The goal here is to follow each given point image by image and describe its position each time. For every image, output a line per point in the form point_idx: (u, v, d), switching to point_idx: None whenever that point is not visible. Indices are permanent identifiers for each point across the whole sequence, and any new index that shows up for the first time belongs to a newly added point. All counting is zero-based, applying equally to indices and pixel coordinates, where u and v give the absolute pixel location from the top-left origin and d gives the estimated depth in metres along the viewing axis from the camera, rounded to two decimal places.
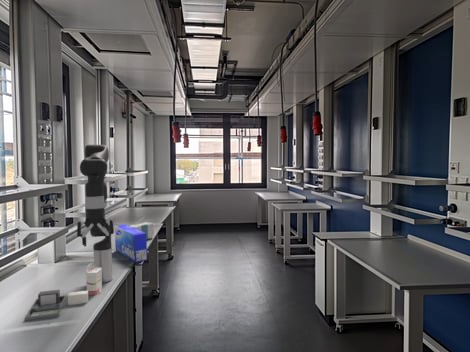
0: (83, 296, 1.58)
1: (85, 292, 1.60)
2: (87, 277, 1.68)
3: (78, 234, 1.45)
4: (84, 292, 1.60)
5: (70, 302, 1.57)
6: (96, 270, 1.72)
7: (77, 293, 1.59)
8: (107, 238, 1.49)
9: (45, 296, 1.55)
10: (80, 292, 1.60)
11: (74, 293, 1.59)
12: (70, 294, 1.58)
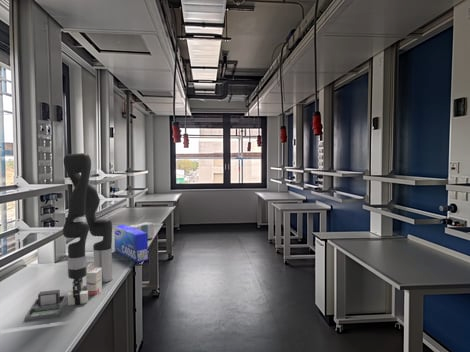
0: (83, 296, 1.58)
1: (85, 292, 1.60)
2: (87, 277, 1.68)
3: (79, 295, 1.55)
4: (84, 292, 1.60)
5: (69, 301, 1.56)
6: (96, 270, 1.72)
7: None
8: None
9: (45, 296, 1.55)
10: (80, 292, 1.60)
11: None
12: (70, 294, 1.58)
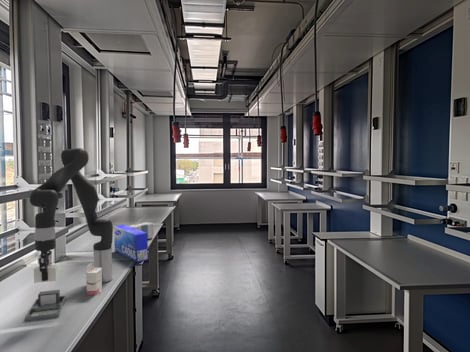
0: (51, 270, 1.46)
1: (53, 266, 1.47)
2: (87, 277, 1.68)
3: (46, 269, 1.43)
4: (52, 266, 1.47)
5: (36, 276, 1.44)
6: (96, 270, 1.72)
7: None
8: None
9: (45, 296, 1.55)
10: (48, 266, 1.47)
11: None
12: (37, 268, 1.45)
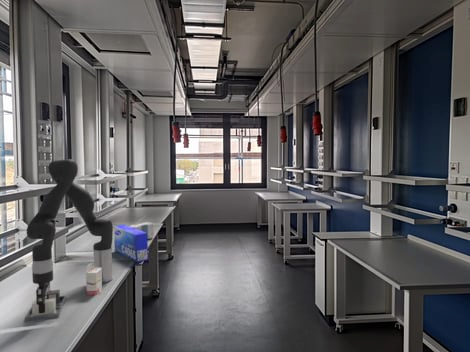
0: (49, 305, 1.46)
1: (52, 300, 1.47)
2: (87, 277, 1.68)
3: (43, 301, 1.41)
4: (50, 300, 1.47)
5: (34, 310, 1.44)
6: (96, 270, 1.72)
7: None
8: (48, 298, 1.51)
9: None
10: (46, 300, 1.47)
11: None
12: (35, 302, 1.45)
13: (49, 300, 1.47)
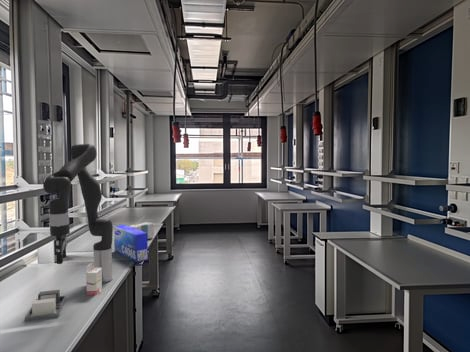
0: (49, 305, 1.46)
1: (52, 300, 1.47)
2: (87, 277, 1.68)
3: (61, 252, 1.46)
4: (50, 300, 1.47)
5: (34, 310, 1.44)
6: (96, 270, 1.72)
7: (43, 301, 1.46)
8: (65, 251, 1.57)
9: (45, 296, 1.55)
10: (46, 300, 1.47)
11: (39, 301, 1.46)
12: (35, 302, 1.45)
13: (49, 300, 1.47)
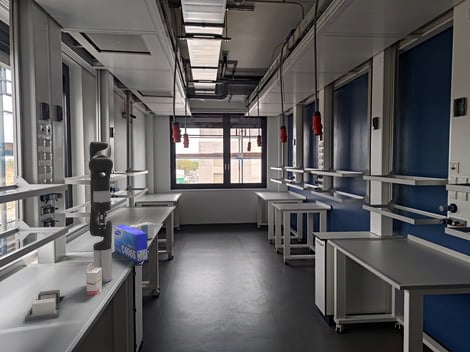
0: (49, 305, 1.46)
1: (52, 300, 1.47)
2: (87, 277, 1.68)
3: (104, 226, 1.59)
4: (50, 300, 1.47)
5: (34, 310, 1.44)
6: (96, 270, 1.72)
7: (43, 301, 1.46)
8: (105, 227, 1.70)
9: (45, 296, 1.55)
10: (46, 300, 1.47)
11: (39, 301, 1.46)
12: (35, 302, 1.45)
13: (49, 300, 1.47)
